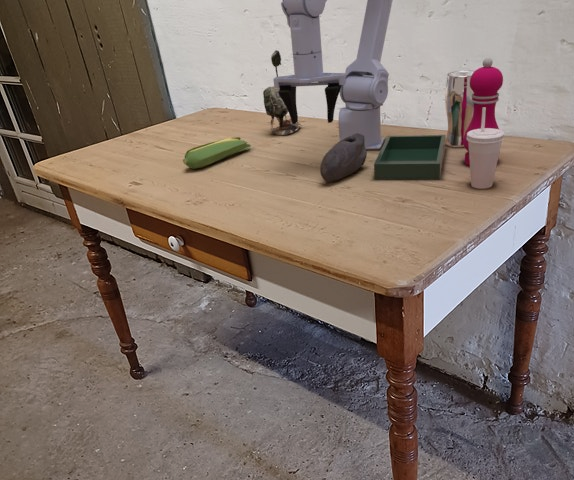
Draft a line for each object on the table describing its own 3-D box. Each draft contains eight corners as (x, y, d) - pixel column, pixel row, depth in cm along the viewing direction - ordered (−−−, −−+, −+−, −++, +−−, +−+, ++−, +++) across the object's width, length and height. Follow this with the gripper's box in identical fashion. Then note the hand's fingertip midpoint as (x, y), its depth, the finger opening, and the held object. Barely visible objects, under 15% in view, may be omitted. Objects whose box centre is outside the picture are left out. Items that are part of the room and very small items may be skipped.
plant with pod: (258, 135, 151) (247, 55, 141) (288, 124, 158) (281, 47, 148) (278, 139, 146) (269, 56, 136) (309, 128, 152) (303, 48, 142)
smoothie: (472, 177, 109) (477, 102, 102) (505, 182, 105) (513, 104, 98) (457, 188, 105) (461, 111, 98) (491, 193, 101) (498, 113, 94)
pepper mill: (501, 167, 112) (511, 59, 102) (462, 168, 114) (468, 62, 104) (497, 156, 118) (506, 53, 108) (461, 157, 120) (466, 56, 110)
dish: (374, 179, 114) (374, 163, 112) (387, 149, 129) (387, 135, 128) (439, 179, 110) (440, 163, 108) (445, 149, 125) (445, 134, 124)
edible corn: (180, 170, 131) (176, 151, 129) (244, 147, 143) (242, 129, 141) (193, 174, 128) (189, 154, 126) (258, 149, 140) (256, 131, 137)
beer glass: (479, 146, 125) (484, 74, 117) (447, 149, 125) (450, 78, 118) (471, 137, 131) (475, 68, 123) (440, 140, 131) (442, 72, 124)
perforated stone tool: (332, 189, 111) (330, 154, 108) (311, 185, 114) (308, 151, 111) (374, 165, 121) (373, 132, 117) (353, 162, 124) (351, 130, 120)
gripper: (265, 58, 110) (273, 128, 117) (339, 53, 106) (343, 126, 113) (276, 52, 116) (283, 119, 123) (346, 47, 112) (349, 117, 119)
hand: (312, 122), depth 118 cm, fingers open, 7 cm apart
